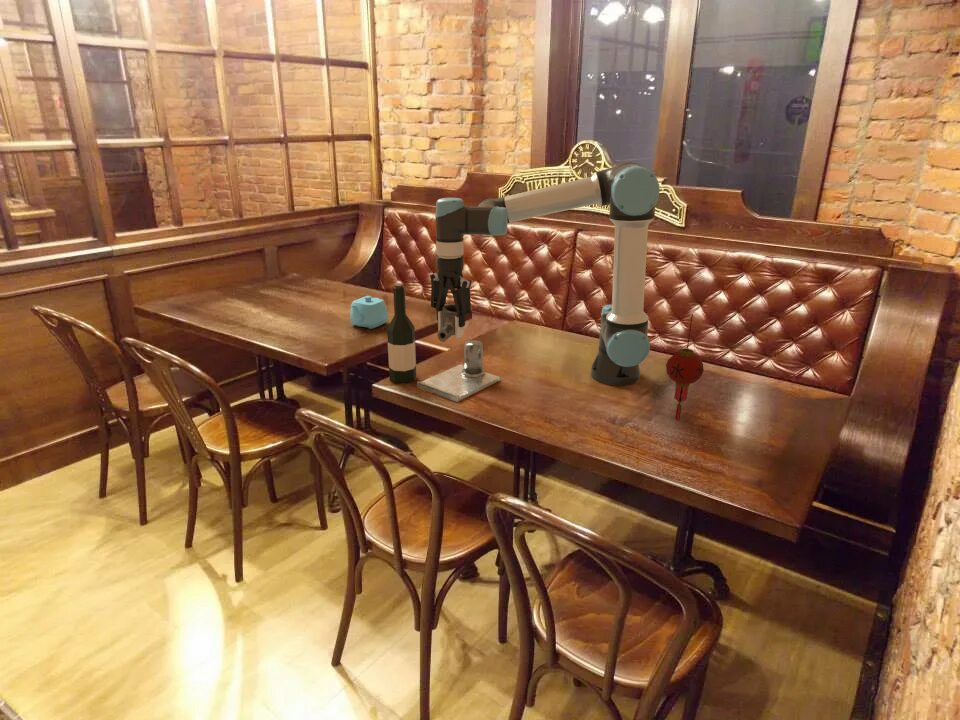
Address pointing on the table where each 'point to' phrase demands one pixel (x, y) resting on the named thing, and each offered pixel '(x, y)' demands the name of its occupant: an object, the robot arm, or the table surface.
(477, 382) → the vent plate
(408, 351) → the wine bottle
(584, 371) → the table surface
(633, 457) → the table surface
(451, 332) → the pipe
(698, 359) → the lantern
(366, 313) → the teapot
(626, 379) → the robot arm
